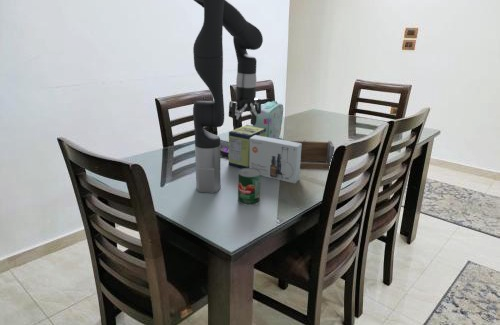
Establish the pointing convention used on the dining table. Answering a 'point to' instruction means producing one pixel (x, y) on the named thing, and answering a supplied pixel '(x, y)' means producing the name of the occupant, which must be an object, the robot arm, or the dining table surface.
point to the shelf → (316, 153)
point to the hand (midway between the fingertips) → (244, 126)
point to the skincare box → (275, 158)
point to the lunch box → (270, 119)
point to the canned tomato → (249, 186)
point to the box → (224, 148)
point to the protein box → (242, 144)
